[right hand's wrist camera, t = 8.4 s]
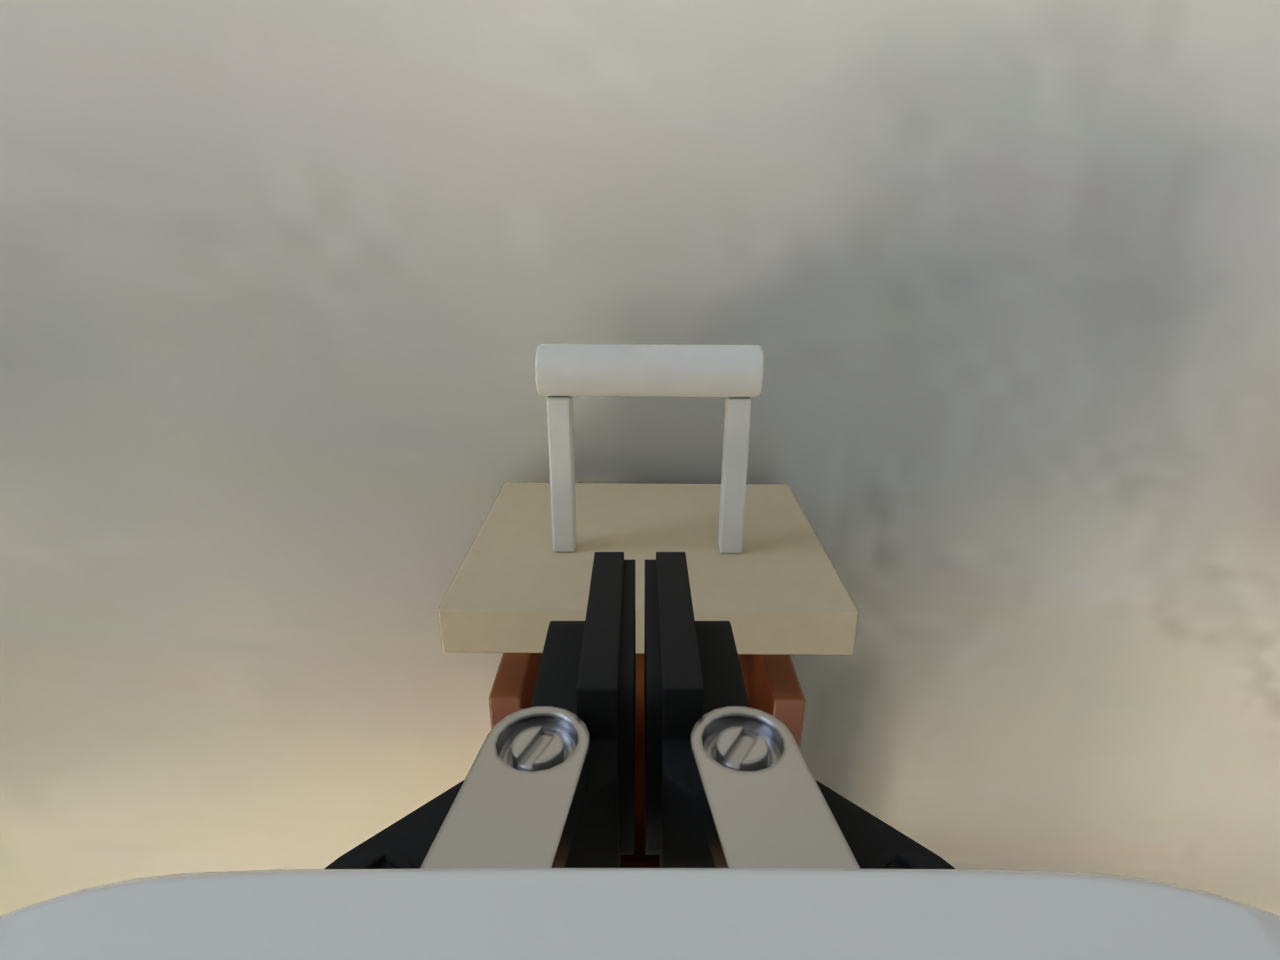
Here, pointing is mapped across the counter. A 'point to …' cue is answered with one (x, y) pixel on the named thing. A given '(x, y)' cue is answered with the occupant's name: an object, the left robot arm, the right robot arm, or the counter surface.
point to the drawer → (650, 544)
